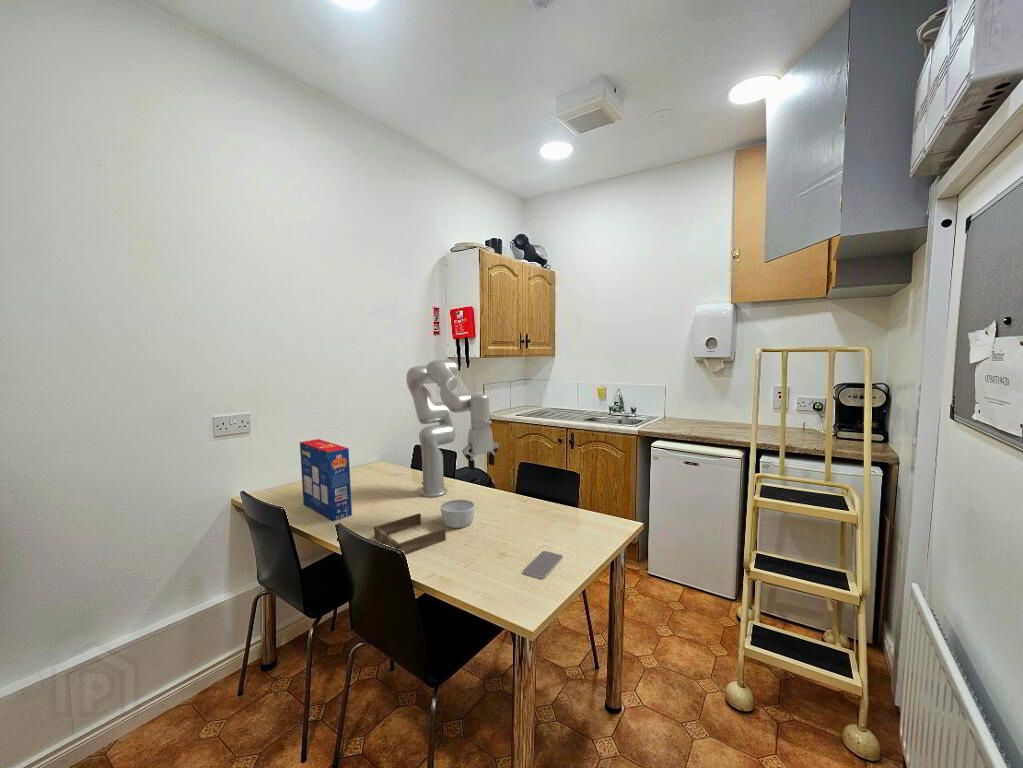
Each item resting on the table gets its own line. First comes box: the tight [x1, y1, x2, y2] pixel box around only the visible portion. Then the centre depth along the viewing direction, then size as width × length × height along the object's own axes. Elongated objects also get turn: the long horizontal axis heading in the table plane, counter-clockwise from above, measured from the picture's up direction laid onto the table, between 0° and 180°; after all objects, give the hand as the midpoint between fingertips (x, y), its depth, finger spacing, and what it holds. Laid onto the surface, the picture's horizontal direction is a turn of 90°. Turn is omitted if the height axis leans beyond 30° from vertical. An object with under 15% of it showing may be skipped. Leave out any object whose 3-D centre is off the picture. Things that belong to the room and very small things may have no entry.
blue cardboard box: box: [299, 438, 353, 522], centre depth 174 cm, size 28×8×28 cm, turn 48°
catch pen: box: [373, 512, 447, 555], centre depth 147 cm, size 19×18×4 cm
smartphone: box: [522, 550, 563, 580], centre depth 128 cm, size 7×1×15 cm
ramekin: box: [440, 499, 476, 529], centre depth 160 cm, size 13×13×7 cm
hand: (481, 467), depth 166 cm, fingers open, 9 cm apart
